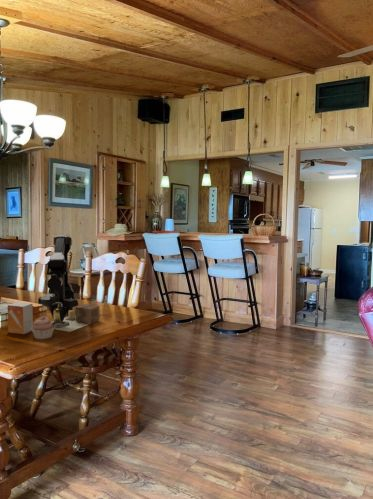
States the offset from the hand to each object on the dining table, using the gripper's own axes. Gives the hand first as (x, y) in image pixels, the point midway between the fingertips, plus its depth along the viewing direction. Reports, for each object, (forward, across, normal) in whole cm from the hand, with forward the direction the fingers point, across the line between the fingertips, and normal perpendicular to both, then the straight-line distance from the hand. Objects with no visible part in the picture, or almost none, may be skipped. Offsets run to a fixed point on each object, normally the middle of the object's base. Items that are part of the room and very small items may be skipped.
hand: (58, 320), depth 185 cm
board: (+4, +2, +5) cm, 6 cm away
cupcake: (+4, +6, -15) cm, 17 cm away
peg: (+1, 0, 0) cm, 1 cm away
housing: (+2, +8, +11) cm, 14 cm away
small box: (+4, -8, -14) cm, 17 cm away
